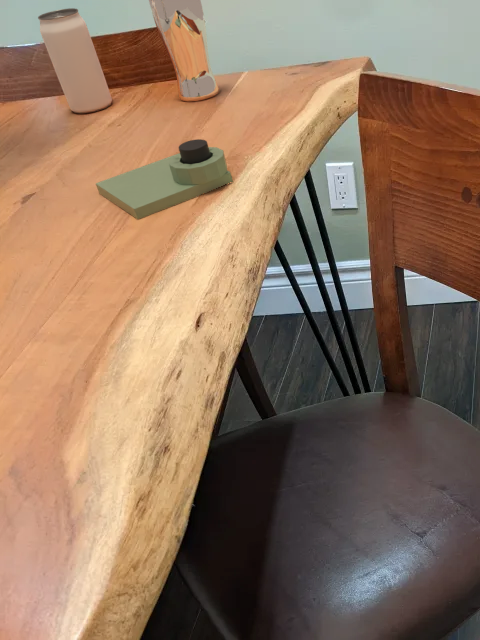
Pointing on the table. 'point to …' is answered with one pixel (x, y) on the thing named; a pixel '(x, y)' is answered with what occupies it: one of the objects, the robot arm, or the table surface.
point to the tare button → (194, 151)
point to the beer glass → (186, 46)
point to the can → (75, 60)
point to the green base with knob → (165, 183)
